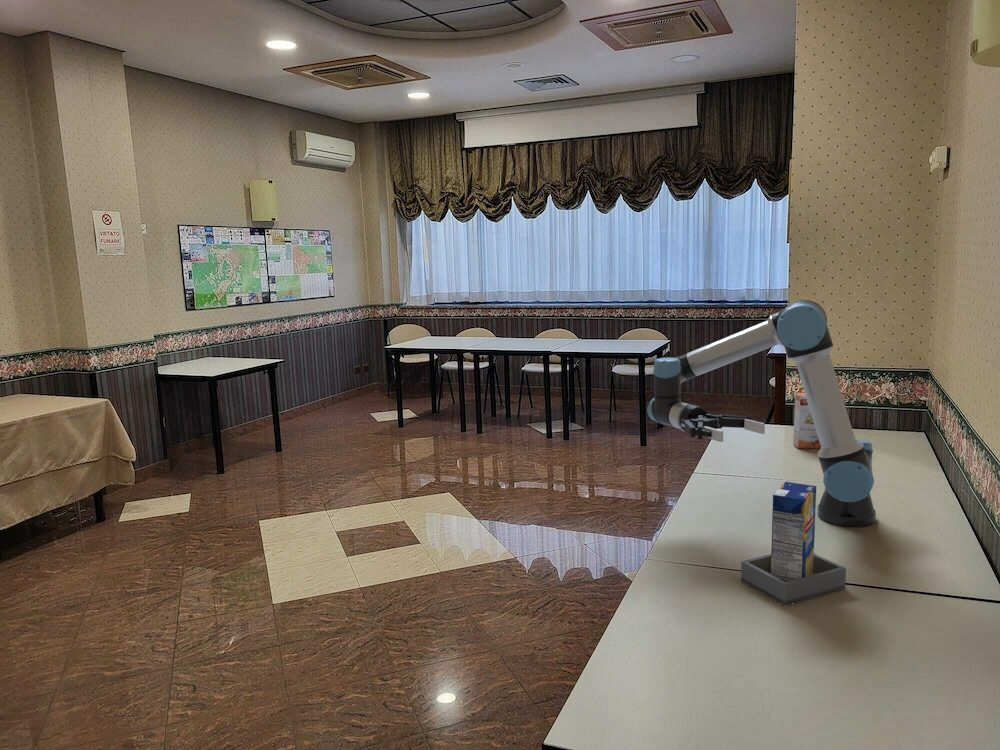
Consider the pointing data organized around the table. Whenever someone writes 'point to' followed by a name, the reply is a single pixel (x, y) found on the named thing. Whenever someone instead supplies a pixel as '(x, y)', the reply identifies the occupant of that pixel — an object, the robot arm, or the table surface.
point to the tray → (820, 583)
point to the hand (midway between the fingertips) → (743, 432)
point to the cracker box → (804, 424)
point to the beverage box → (793, 531)
